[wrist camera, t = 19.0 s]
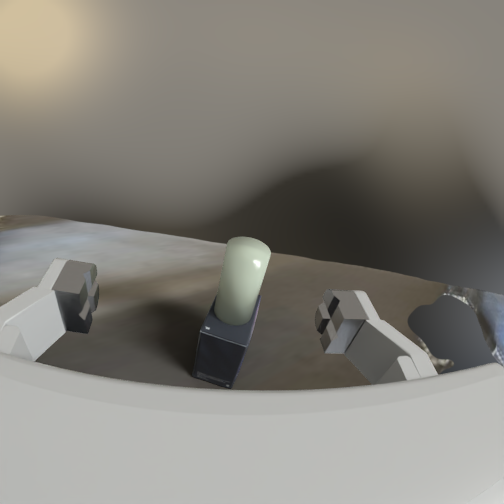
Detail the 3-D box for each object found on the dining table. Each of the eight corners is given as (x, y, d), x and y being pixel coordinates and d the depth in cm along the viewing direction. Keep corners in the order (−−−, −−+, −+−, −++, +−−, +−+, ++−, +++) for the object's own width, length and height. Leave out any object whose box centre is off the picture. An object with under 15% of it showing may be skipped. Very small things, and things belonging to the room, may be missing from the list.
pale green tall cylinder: (214, 323, 38) (227, 259, 33) (213, 296, 42) (226, 234, 37) (253, 326, 39) (273, 264, 34) (249, 300, 43) (267, 239, 38)
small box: (233, 391, 42) (248, 347, 36) (190, 377, 42) (196, 331, 36) (248, 340, 50) (263, 294, 45) (211, 328, 51) (220, 281, 45)
